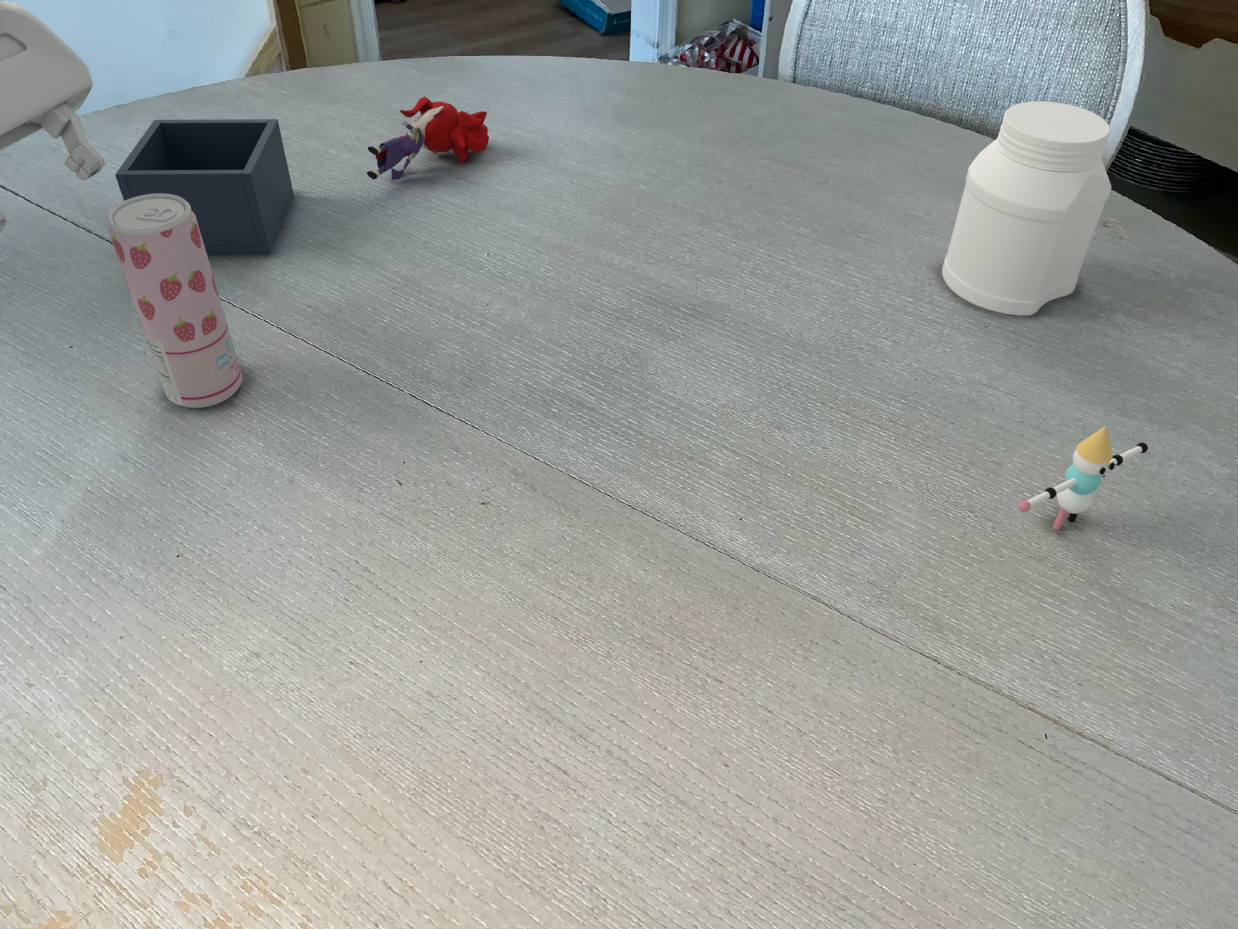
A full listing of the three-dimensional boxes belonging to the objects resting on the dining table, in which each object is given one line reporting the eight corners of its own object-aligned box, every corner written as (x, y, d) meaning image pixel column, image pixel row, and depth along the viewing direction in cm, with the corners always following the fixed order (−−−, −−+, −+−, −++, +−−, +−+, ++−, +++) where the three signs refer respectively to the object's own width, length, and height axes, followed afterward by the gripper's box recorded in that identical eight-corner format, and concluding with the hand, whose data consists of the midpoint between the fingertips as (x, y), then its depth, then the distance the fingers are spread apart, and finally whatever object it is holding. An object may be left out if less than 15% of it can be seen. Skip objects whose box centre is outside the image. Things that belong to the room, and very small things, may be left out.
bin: (142, 256, 93) (114, 174, 87) (177, 196, 101) (154, 119, 96) (270, 254, 93) (250, 173, 88) (294, 196, 102) (277, 118, 97)
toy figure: (1017, 569, 65) (1058, 469, 60) (988, 545, 67) (1025, 445, 61) (1139, 505, 70) (1187, 406, 64) (1109, 483, 72) (1154, 386, 66)
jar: (1012, 326, 86) (1067, 160, 76) (923, 278, 92) (964, 118, 82) (1089, 284, 92) (1150, 123, 82) (1001, 241, 97) (1048, 86, 87)
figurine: (347, 176, 104) (438, 127, 113) (411, 213, 102) (499, 160, 112) (347, 120, 99) (443, 73, 109) (415, 157, 97) (506, 107, 107)
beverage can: (244, 403, 77) (192, 225, 67) (164, 416, 76) (99, 236, 66) (243, 361, 81) (193, 187, 71) (167, 372, 80) (106, 196, 70)
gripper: (-278, 60, 56) (-61, 249, 60) (2, -40, 70) (160, 117, 75) (-290, 127, 60) (-87, 299, 64) (-23, 19, 74) (128, 165, 79)
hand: (48, 200), depth 70 cm, fingers open, 8 cm apart
